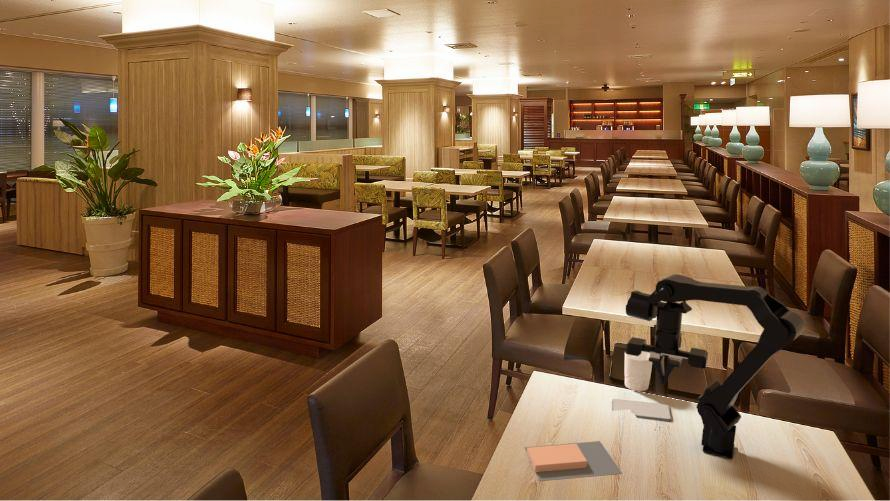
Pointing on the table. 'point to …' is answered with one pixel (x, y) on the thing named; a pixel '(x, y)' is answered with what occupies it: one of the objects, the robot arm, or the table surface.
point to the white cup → (637, 371)
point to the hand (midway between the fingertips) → (663, 383)
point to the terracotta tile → (556, 457)
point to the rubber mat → (596, 463)
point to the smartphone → (643, 409)
